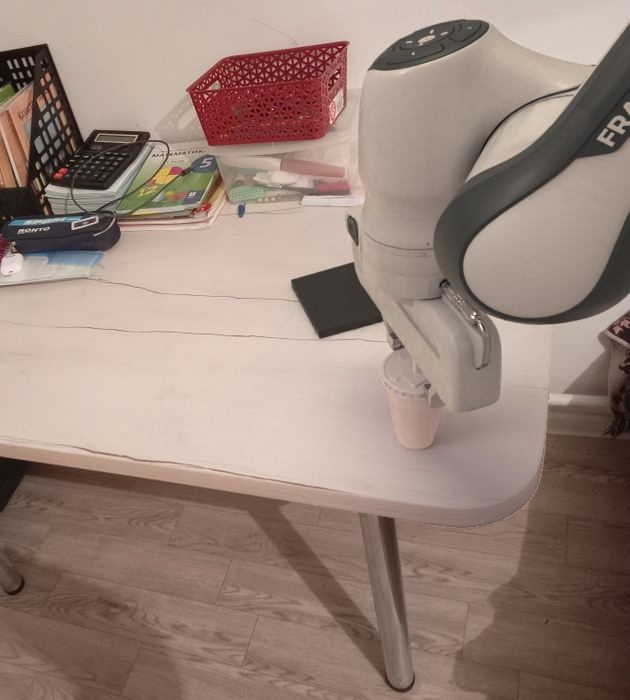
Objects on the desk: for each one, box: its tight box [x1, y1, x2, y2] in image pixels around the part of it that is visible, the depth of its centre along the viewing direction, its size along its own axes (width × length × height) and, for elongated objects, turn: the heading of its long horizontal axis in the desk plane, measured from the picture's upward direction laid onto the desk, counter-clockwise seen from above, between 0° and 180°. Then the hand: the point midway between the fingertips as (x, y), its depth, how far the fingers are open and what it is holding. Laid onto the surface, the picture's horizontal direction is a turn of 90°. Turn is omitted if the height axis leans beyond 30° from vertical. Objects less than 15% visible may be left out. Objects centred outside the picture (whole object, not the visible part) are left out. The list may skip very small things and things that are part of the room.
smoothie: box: [380, 348, 444, 451], centre depth 59 cm, size 6×6×14 cm
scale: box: [290, 261, 384, 339], centre depth 81 cm, size 15×12×3 cm
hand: (416, 372), depth 58 cm, fingers open, 6 cm apart
